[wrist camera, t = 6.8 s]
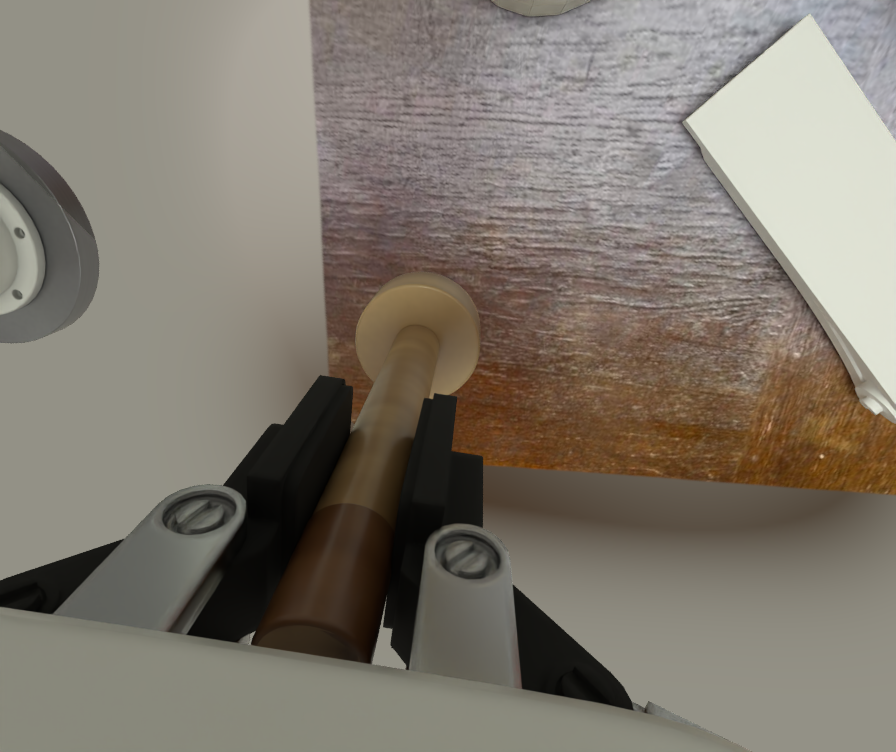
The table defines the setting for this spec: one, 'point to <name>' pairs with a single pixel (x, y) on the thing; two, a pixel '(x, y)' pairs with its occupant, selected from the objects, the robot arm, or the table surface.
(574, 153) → the table surface
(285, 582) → the stirrer
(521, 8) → the bowl
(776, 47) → the wall bracket
